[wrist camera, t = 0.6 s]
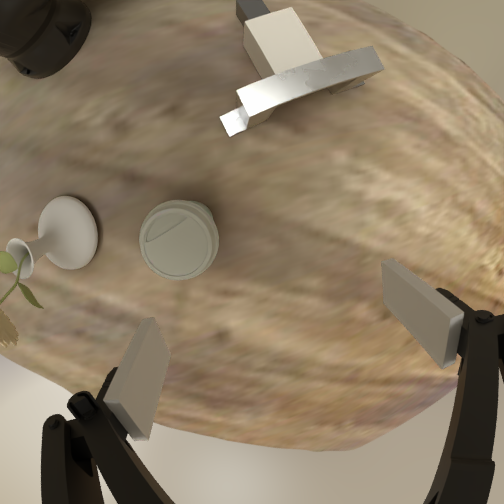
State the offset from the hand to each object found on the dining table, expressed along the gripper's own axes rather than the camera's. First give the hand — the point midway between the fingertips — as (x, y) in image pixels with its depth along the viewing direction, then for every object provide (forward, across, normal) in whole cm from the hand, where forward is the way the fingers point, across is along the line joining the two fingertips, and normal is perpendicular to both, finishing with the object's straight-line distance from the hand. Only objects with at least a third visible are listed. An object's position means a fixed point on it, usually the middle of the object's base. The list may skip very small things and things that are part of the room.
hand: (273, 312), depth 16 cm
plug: (+26, +8, +23) cm, 35 cm away
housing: (+26, +10, +15) cm, 31 cm away
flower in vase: (+26, -27, +5) cm, 38 cm away
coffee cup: (+26, -8, +2) cm, 27 cm away
